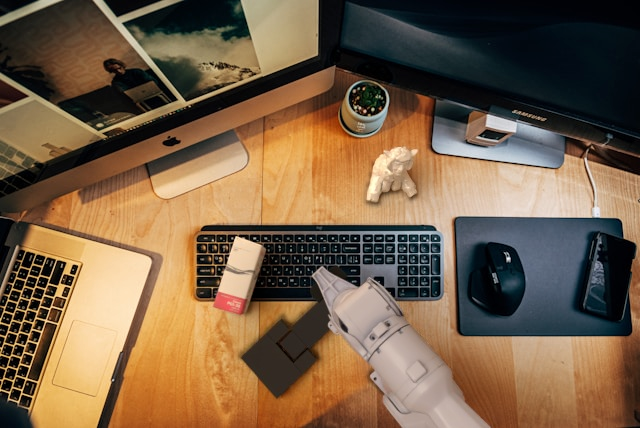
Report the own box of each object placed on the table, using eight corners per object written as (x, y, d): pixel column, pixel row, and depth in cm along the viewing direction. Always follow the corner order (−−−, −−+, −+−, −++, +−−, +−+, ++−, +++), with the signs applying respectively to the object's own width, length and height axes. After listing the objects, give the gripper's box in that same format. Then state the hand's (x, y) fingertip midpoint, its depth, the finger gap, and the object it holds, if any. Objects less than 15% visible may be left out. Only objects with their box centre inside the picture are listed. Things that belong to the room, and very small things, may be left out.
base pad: (316, 357, 76) (316, 360, 73) (277, 394, 75) (276, 399, 72) (281, 318, 77) (280, 319, 74) (243, 354, 76) (240, 357, 73)
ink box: (240, 316, 69) (263, 244, 71) (210, 307, 69) (234, 235, 71) (247, 312, 77) (267, 248, 79) (220, 304, 77) (241, 240, 79)
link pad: (342, 314, 78) (343, 315, 75) (296, 358, 76) (296, 361, 73) (324, 295, 78) (325, 295, 75) (278, 338, 77) (277, 341, 74)
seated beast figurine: (366, 204, 81) (376, 191, 69) (358, 160, 82) (367, 139, 70) (416, 197, 81) (434, 182, 70) (407, 153, 83) (424, 130, 71)
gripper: (294, 291, 55) (296, 290, 69) (374, 378, 54) (360, 360, 67) (335, 253, 56) (329, 259, 70) (414, 338, 55) (393, 327, 68)
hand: (346, 306), depth 69 cm, fingers open, 7 cm apart
